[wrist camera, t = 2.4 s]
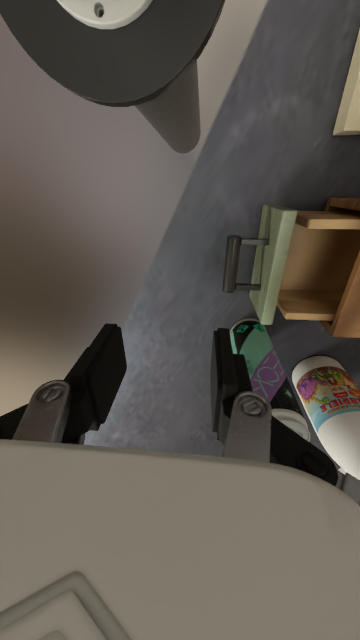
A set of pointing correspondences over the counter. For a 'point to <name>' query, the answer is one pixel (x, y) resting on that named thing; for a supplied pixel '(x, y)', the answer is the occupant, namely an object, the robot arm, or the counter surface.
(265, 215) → the drawer
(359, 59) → the button box
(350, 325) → the cabinet
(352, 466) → the milk bottle
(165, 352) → the counter surface
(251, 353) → the spray can
